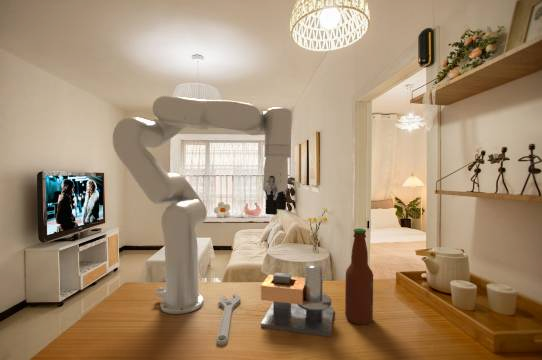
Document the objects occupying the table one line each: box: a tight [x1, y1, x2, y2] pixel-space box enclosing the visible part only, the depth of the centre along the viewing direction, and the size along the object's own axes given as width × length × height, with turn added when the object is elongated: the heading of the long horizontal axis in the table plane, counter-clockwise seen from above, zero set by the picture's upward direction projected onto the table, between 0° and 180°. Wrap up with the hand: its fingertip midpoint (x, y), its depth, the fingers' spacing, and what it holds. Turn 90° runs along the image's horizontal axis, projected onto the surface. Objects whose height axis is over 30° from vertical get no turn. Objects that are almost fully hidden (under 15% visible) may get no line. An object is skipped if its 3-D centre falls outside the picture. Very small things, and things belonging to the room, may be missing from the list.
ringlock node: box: [260, 263, 335, 338], centre depth 82 cm, size 19×14×15 cm
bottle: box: [344, 228, 374, 326], centre depth 82 cm, size 7×7×25 cm
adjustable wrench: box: [216, 293, 242, 346], centre depth 83 cm, size 25×6×2 cm, turn 178°
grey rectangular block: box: [272, 272, 292, 316], centre depth 83 cm, size 4×2×11 cm, turn 74°
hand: (276, 211), depth 86 cm, fingers open, 9 cm apart
